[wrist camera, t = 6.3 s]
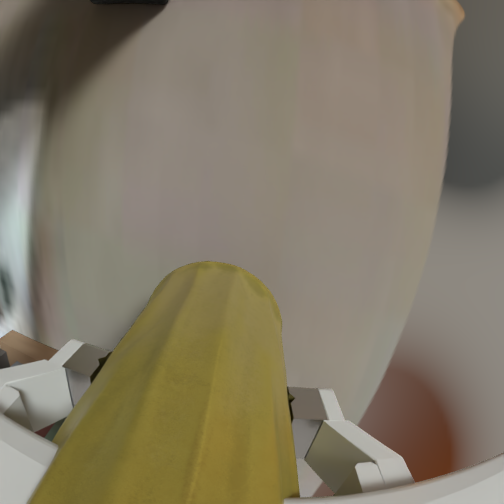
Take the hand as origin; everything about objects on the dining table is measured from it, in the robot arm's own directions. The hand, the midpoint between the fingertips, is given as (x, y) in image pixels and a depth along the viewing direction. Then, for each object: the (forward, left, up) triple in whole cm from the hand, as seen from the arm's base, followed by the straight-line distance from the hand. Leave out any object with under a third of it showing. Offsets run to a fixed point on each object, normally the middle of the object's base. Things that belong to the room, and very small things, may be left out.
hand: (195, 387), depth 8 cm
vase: (0, 0, -5) cm, 5 cm away
